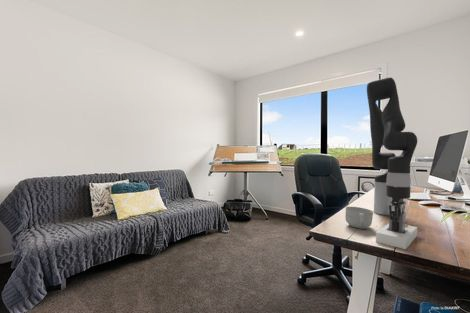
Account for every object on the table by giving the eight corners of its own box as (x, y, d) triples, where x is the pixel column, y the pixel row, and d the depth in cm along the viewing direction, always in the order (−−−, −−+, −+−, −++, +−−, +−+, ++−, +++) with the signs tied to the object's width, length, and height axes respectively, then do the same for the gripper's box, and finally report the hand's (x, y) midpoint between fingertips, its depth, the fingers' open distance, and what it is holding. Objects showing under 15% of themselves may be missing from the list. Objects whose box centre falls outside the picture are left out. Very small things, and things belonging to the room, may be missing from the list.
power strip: (390, 230, 100) (390, 220, 100) (417, 235, 94) (417, 225, 93) (375, 241, 86) (376, 230, 86) (405, 249, 80) (405, 237, 80)
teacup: (346, 221, 112) (346, 204, 111) (373, 225, 106) (373, 208, 106) (342, 229, 100) (343, 210, 99) (372, 234, 94) (373, 214, 94)
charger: (391, 232, 92) (392, 205, 92) (404, 235, 89) (405, 206, 89) (388, 235, 89) (389, 206, 89) (402, 238, 86) (403, 208, 86)
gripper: (391, 182, 97) (390, 223, 97) (381, 185, 87) (379, 231, 87) (414, 184, 91) (412, 228, 91) (406, 187, 81) (404, 236, 82)
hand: (396, 229), depth 89 cm, fingers closed on charger, 4 cm apart
